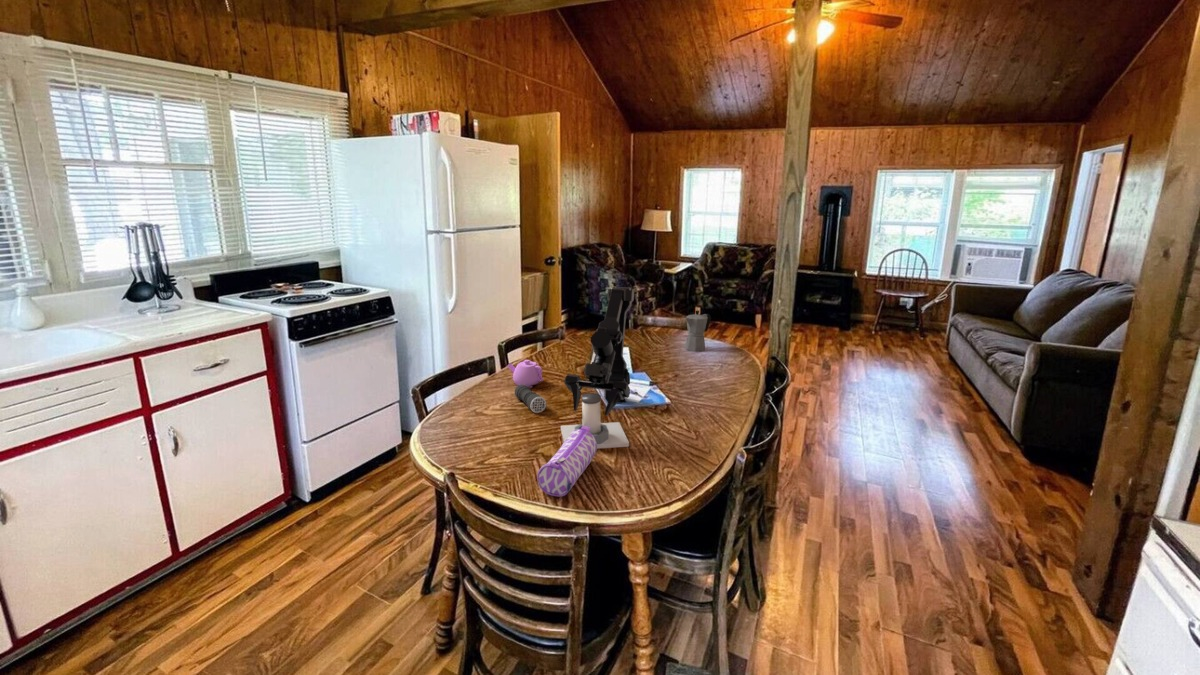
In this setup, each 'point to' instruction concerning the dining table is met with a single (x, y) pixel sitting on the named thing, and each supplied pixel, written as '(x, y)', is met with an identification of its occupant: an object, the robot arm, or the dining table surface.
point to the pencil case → (568, 463)
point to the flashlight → (530, 398)
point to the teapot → (526, 373)
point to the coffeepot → (696, 331)
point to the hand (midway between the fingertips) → (590, 413)
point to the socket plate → (612, 435)
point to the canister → (591, 412)
